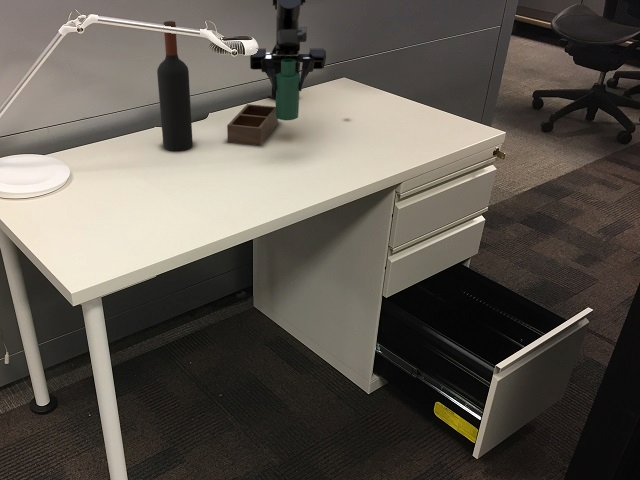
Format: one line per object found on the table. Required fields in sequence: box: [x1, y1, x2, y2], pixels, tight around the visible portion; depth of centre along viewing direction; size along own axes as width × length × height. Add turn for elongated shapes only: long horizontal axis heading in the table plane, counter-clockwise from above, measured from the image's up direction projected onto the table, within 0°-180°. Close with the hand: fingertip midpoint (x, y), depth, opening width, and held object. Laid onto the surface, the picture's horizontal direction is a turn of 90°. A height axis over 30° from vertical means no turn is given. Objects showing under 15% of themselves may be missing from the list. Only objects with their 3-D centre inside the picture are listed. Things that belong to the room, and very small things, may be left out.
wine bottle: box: [156, 20, 194, 153], centre depth 163 cm, size 8×8×30 cm
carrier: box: [226, 103, 279, 147], centre depth 178 cm, size 17×9×5 cm, turn 162°
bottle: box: [275, 59, 301, 121], centre depth 167 cm, size 6×6×14 cm
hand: (287, 90), depth 166 cm, fingers closed on bottle, 6 cm apart
